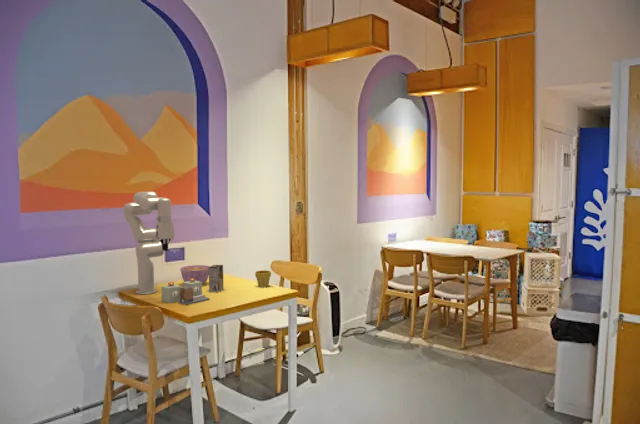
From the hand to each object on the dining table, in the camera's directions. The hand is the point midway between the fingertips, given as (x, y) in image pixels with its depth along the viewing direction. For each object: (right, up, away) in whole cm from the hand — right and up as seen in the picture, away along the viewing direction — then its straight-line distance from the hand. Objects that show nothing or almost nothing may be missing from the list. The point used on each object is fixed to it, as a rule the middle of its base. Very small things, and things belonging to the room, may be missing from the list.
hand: (165, 250), depth 308 cm
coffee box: (+25, -28, +29) cm, 47 cm away
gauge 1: (+3, -26, +2) cm, 27 cm away
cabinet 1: (+3, -30, +2) cm, 30 cm away
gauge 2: (+13, -25, +13) cm, 31 cm away
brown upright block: (+13, -29, -3) cm, 32 cm away
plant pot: (+54, -27, +41) cm, 72 cm away
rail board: (+17, -30, +1) cm, 35 cm away
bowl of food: (+7, -27, +46) cm, 54 cm away
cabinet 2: (+13, -29, +14) cm, 35 cm away
